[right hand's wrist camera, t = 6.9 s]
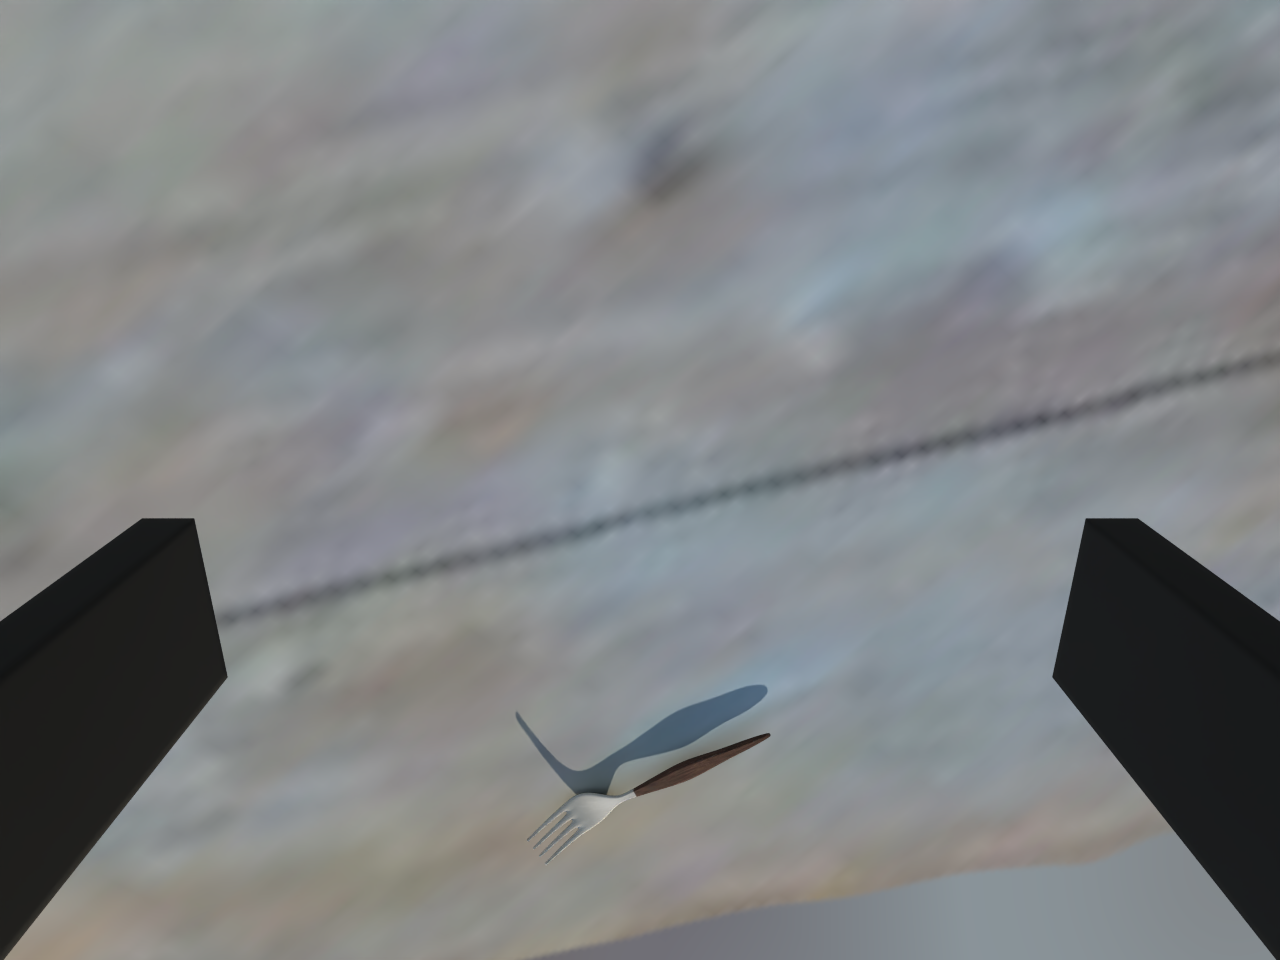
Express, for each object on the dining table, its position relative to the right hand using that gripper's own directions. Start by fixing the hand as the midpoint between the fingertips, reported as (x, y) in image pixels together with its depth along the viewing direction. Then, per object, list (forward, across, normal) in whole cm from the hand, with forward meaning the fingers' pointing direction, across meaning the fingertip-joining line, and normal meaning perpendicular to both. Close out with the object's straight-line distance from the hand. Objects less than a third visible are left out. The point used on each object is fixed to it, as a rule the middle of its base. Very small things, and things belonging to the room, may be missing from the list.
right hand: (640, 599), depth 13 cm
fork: (+30, -1, +29) cm, 42 cm away
